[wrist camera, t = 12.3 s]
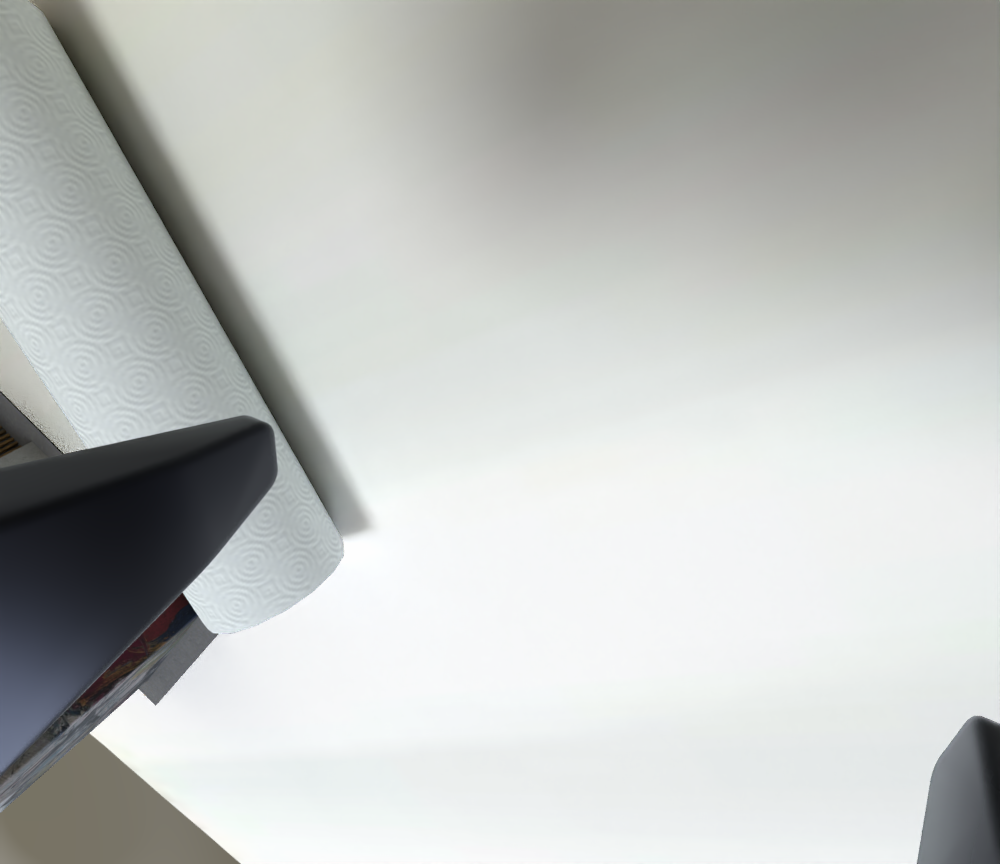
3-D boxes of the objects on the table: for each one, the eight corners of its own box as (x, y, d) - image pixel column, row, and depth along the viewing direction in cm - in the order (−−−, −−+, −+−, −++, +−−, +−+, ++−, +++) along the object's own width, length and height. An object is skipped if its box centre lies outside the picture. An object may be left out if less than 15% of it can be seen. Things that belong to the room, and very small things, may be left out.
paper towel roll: (334, 599, 27) (-42, -37, 20) (184, 661, 27) (-227, 63, 21) (363, 514, 33) (89, 19, 27) (243, 565, 34) (-53, 93, 28)
